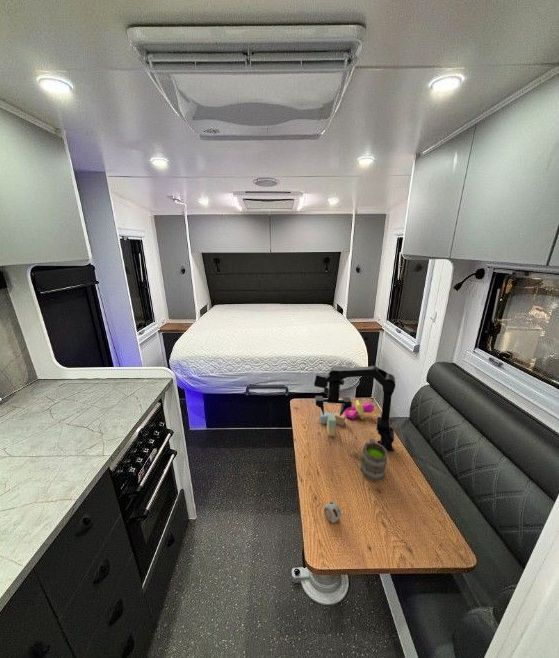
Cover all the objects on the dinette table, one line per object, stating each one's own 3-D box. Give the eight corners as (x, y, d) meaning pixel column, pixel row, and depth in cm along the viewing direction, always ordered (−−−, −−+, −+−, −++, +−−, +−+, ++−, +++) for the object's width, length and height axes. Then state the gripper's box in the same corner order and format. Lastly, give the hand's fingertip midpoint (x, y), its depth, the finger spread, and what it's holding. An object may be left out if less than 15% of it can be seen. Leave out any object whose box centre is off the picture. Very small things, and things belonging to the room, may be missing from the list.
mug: (387, 483, 112) (391, 462, 108) (361, 479, 114) (364, 457, 110) (381, 456, 126) (384, 436, 123) (358, 452, 128) (360, 433, 125)
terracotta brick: (344, 422, 151) (345, 415, 149) (342, 425, 148) (343, 418, 147) (335, 418, 154) (335, 411, 152) (332, 422, 151) (333, 414, 150)
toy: (343, 409, 164) (341, 401, 157) (371, 403, 162) (371, 394, 155) (347, 424, 156) (346, 416, 150) (377, 418, 154) (377, 409, 147)
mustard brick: (334, 436, 140) (335, 428, 138) (328, 435, 140) (328, 428, 138) (333, 428, 145) (333, 421, 144) (326, 428, 146) (327, 420, 144)
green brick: (335, 428, 138) (336, 420, 137) (328, 428, 138) (329, 420, 137) (333, 421, 144) (334, 413, 142) (327, 420, 144) (328, 413, 143)
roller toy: (330, 507, 101) (331, 496, 99) (342, 520, 96) (344, 509, 95) (322, 513, 99) (323, 502, 97) (334, 527, 94) (335, 516, 92)
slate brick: (329, 419, 153) (329, 412, 152) (330, 423, 150) (331, 415, 149) (319, 420, 153) (319, 412, 151) (321, 423, 149) (321, 416, 148)
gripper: (348, 382, 142) (346, 406, 147) (315, 381, 143) (313, 405, 147) (353, 393, 131) (350, 419, 136) (316, 392, 132) (315, 417, 137)
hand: (331, 414), depth 139 cm, fingers open, 9 cm apart
